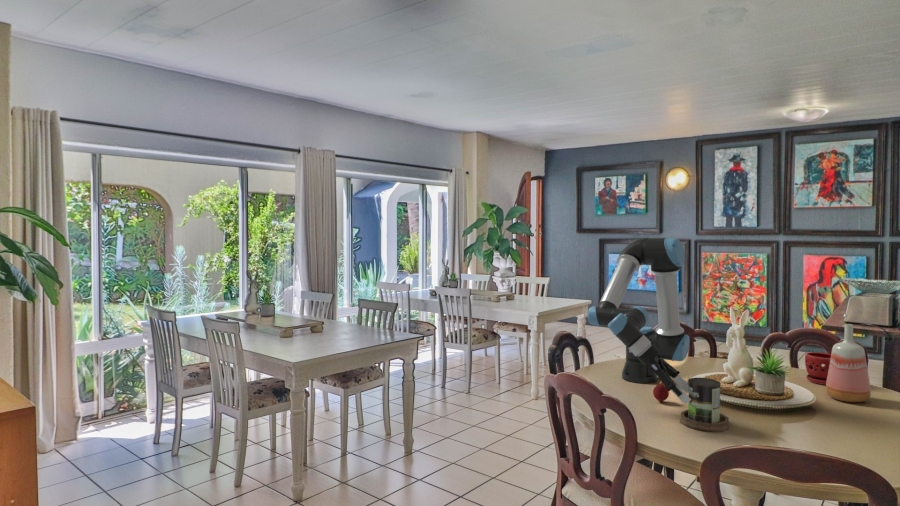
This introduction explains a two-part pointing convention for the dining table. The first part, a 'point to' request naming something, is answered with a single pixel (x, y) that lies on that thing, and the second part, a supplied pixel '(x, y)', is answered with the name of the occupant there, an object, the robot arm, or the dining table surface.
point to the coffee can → (704, 400)
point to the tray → (705, 426)
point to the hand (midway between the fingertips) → (688, 396)
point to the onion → (660, 392)
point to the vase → (848, 371)
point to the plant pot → (817, 366)
